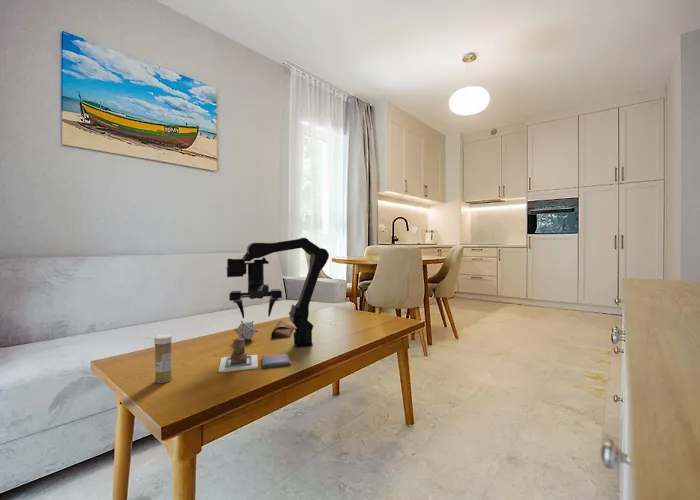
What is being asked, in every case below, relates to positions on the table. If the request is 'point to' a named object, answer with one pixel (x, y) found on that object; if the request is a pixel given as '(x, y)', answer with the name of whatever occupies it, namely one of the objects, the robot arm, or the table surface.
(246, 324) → the game die
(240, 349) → the stamp
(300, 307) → the robot arm
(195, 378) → the table surface
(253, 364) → the print card
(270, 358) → the ink pad
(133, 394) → the table surface
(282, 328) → the sunglasses case
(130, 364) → the table surface
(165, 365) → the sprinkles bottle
